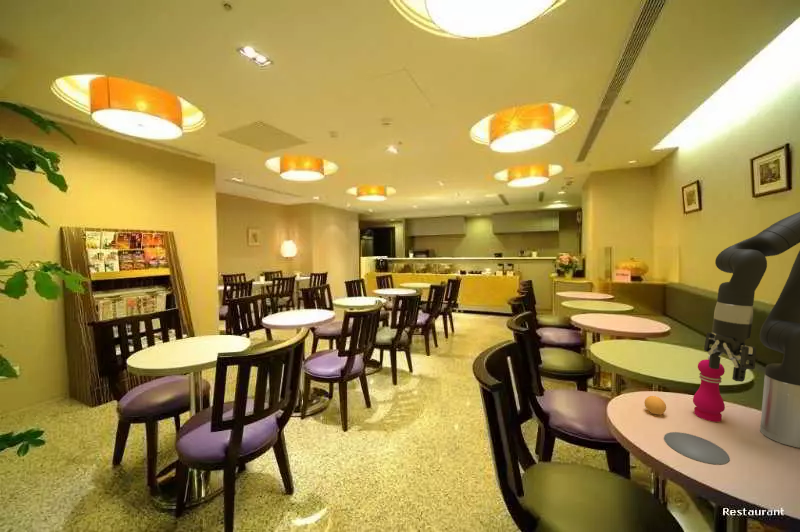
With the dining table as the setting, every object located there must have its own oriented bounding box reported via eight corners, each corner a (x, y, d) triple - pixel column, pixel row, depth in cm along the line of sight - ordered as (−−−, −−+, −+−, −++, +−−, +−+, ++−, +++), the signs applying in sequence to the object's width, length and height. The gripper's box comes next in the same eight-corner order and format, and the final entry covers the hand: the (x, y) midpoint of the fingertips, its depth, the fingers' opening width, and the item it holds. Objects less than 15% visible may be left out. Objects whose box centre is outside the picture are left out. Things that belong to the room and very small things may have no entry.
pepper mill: (730, 424, 96) (735, 360, 94) (702, 422, 97) (706, 359, 95) (712, 411, 103) (716, 352, 101) (686, 409, 104) (690, 350, 102)
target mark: (700, 433, 91) (700, 433, 91) (745, 465, 79) (745, 465, 78) (652, 431, 93) (652, 431, 93) (688, 463, 80) (688, 462, 80)
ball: (657, 408, 105) (658, 393, 104) (670, 418, 99) (671, 401, 99) (640, 408, 105) (640, 392, 105) (651, 417, 100) (652, 401, 99)
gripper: (772, 327, 81) (763, 387, 83) (727, 314, 95) (721, 365, 97) (737, 324, 83) (730, 383, 84) (698, 312, 97) (692, 363, 98)
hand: (725, 374), depth 91 cm, fingers open, 8 cm apart
